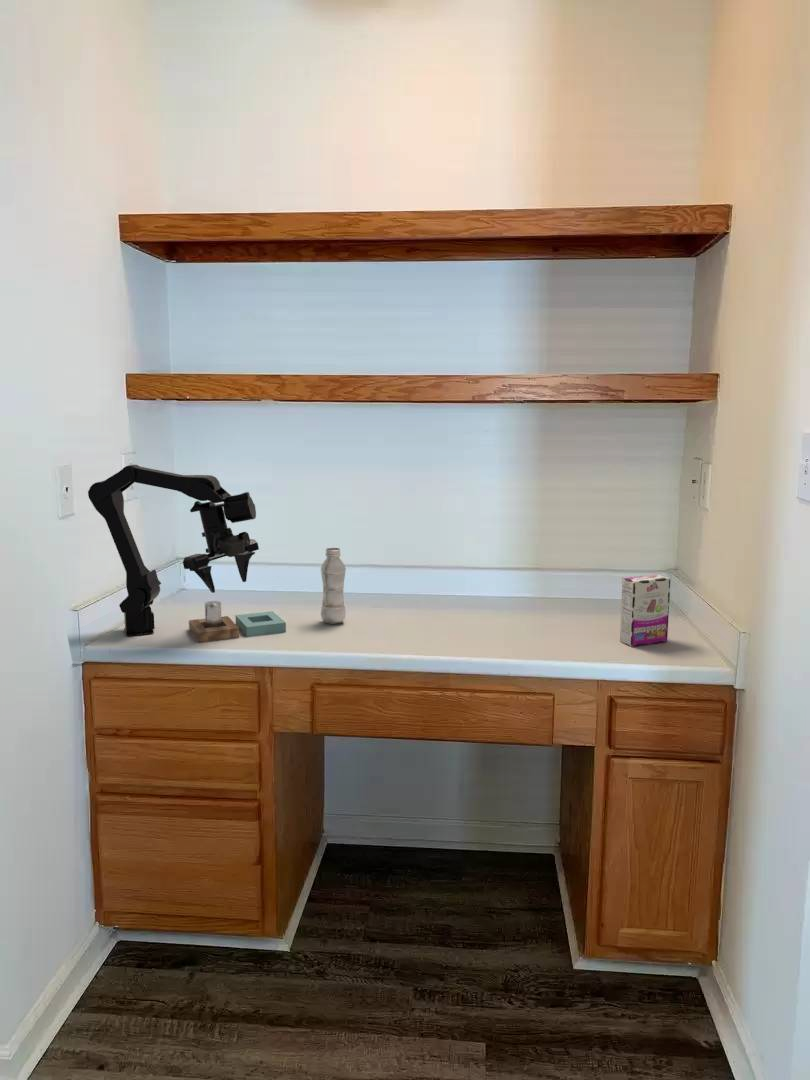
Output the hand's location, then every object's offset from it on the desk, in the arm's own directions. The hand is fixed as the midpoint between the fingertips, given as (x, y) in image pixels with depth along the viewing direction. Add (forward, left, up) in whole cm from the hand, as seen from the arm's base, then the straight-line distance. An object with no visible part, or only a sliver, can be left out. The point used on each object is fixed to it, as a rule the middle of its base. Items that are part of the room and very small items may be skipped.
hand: (229, 587), depth 196 cm
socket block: (-4, +2, -12) cm, 13 cm away
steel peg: (-4, +2, -12) cm, 13 cm away
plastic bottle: (+27, -1, -12) cm, 30 cm away
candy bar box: (+91, -48, -12) cm, 104 cm away
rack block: (+8, +2, -12) cm, 15 cm away
